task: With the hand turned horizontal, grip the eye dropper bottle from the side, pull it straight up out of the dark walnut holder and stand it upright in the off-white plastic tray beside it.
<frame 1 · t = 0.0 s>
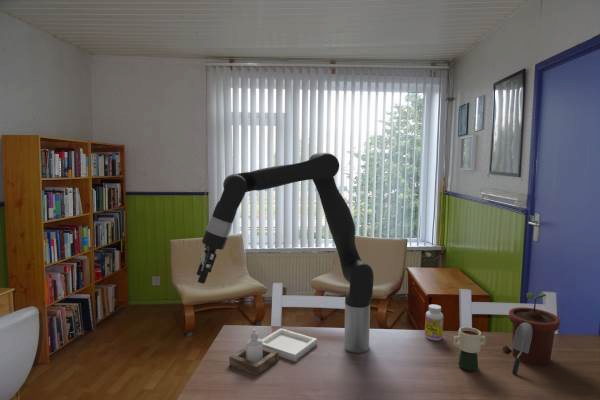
hand: (200, 278, 131), 31 cm above the table, tool tilted 20°, fingers open, 8 cm apart
potted plant: (524, 360, 142), on the table
eye dropper bottle: (254, 363, 139), resting in walnut holder
character mug: (467, 368, 137), on the table
supplement bottle: (433, 337, 160), on the table
walnut holder: (254, 362, 139), on the table
tray: (287, 346, 151), on the table
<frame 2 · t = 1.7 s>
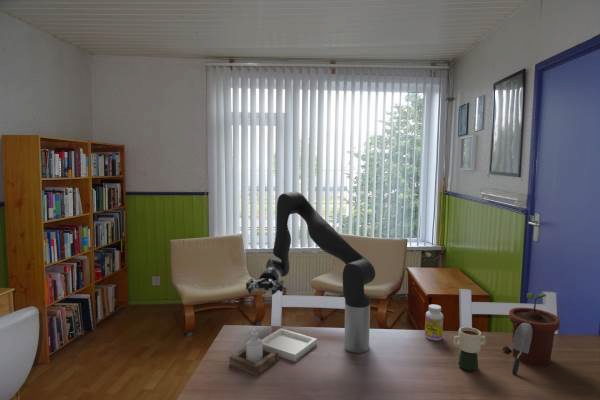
hand: (261, 291, 147), 22 cm above the table, tool horizontal, fingers open, 8 cm apart
nothing on the table moved.
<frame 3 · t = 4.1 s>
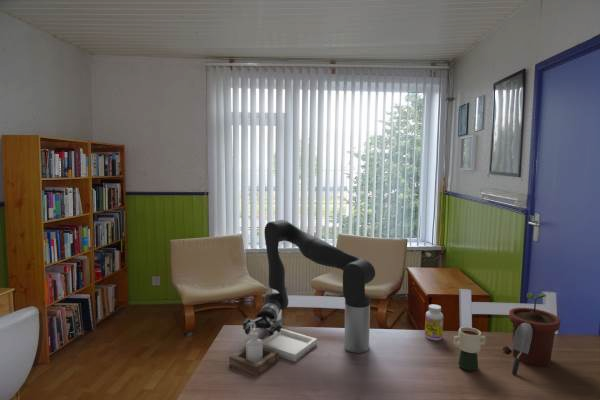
hand: (258, 332, 144), 8 cm above the table, tool horizontal, fingers open, 8 cm apart
nothing on the table moved.
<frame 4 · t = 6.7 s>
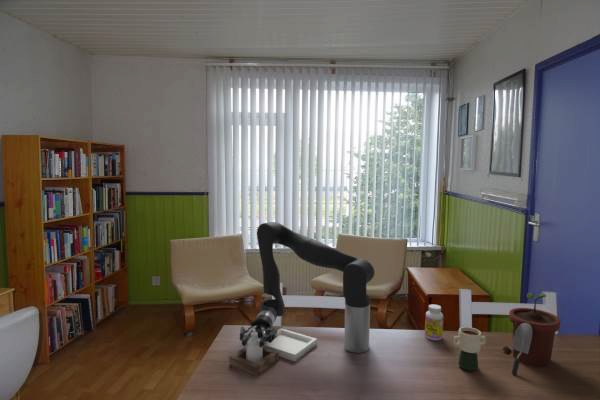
hand: (252, 343, 136), 8 cm above the table, tool horizontal, fingers closed on eye dropper bottle, 5 cm apart
eye dropper bottle: (254, 363, 139), resting in walnut holder, touching gripper
everything else where it was.
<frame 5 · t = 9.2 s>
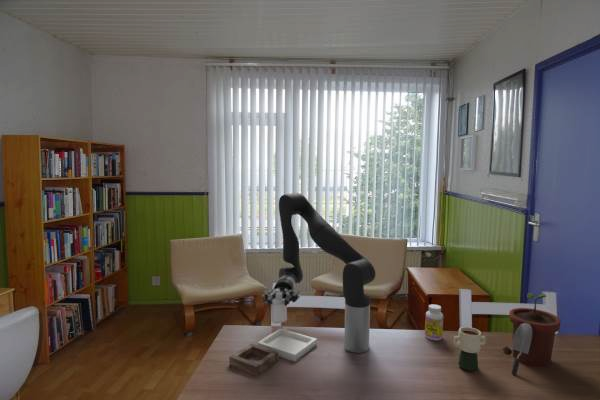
hand: (277, 302, 142), 20 cm above the table, tool horizontal, fingers closed on eye dropper bottle, 5 cm apart
eye dropper bottle: (279, 321, 146), point 11 cm above the table, touching gripper
everything else where it was.
when the fingers open (10 cm above the table, at t = 12.2 s): eye dropper bottle drops 1 cm, resting on tray.
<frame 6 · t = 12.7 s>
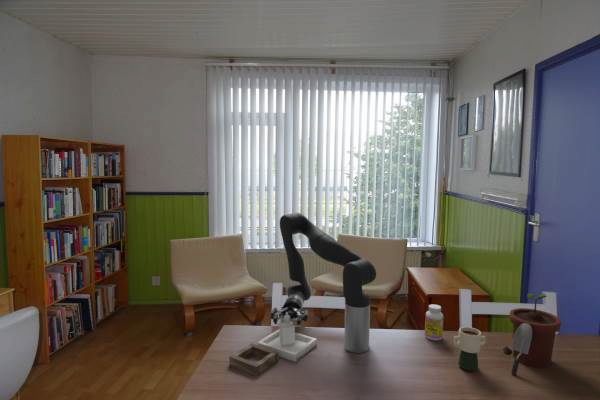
hand: (286, 322, 148), 10 cm above the table, tool horizontal, fingers open, 8 cm apart
eye dropper bottle: (287, 344, 151), point 1 cm above the table, touching tray
everything else where it was.
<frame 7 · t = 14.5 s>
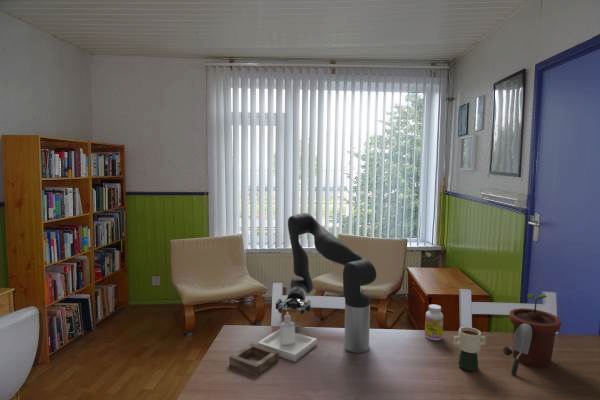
hand: (290, 311, 158), 10 cm above the table, tool horizontal, fingers open, 8 cm apart
nothing on the table moved.
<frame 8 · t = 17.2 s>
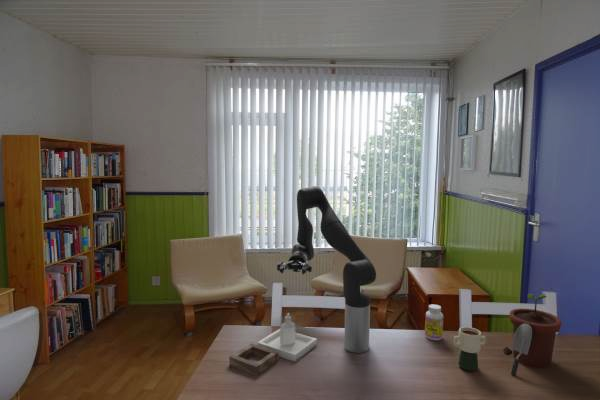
hand: (292, 271, 159), 26 cm above the table, tool horizontal, fingers open, 8 cm apart
at the end: eye dropper bottle inside the target area on the tray (0.2 cm from its centre), point 0.8 cm above the tray's base; eye dropper bottle tilted 0°; the gripper is holding nothing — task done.
